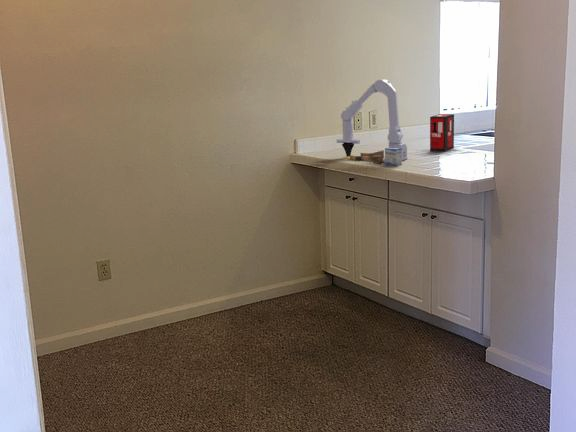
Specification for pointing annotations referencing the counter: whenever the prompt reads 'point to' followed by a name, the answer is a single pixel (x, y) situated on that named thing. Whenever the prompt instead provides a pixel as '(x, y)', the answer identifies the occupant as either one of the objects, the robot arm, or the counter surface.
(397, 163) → the medicine box
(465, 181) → the counter surface
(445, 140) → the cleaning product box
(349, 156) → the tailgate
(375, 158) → the walnut crate
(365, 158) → the brown wooden drawer
